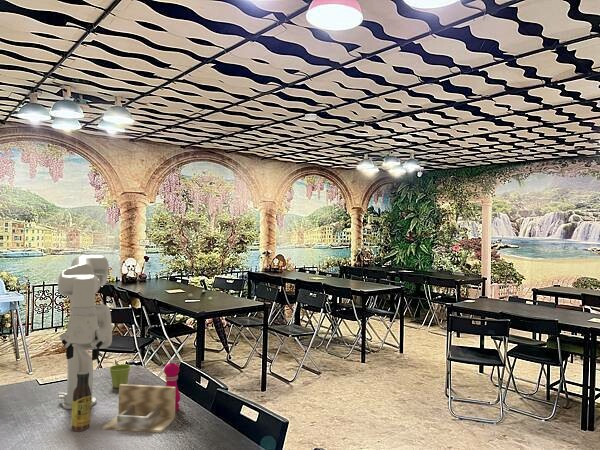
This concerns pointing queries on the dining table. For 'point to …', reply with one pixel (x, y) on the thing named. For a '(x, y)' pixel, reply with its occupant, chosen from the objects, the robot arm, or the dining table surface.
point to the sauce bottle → (81, 403)
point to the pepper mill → (172, 379)
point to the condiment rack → (144, 408)
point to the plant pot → (119, 374)
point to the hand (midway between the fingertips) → (82, 358)
